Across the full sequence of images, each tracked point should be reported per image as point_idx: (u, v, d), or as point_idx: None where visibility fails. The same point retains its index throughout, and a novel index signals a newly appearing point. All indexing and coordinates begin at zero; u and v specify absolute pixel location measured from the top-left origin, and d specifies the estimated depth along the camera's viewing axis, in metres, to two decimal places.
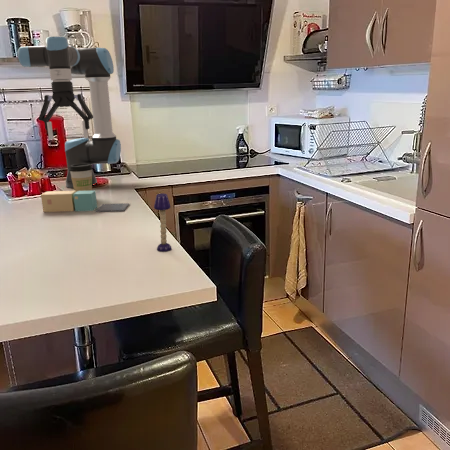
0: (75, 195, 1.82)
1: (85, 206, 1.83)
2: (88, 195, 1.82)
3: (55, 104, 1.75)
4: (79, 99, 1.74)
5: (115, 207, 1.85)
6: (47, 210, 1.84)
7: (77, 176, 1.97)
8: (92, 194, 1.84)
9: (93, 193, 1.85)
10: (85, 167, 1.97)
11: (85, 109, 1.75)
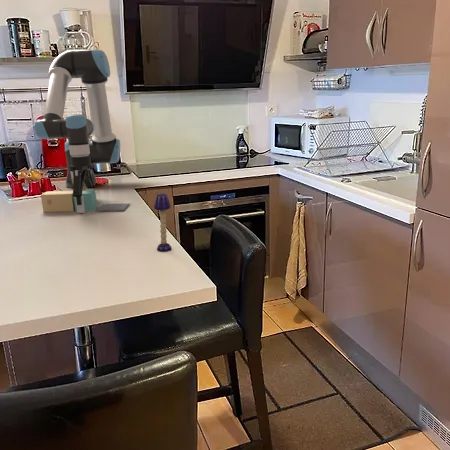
0: None
1: (85, 206, 1.83)
2: (88, 195, 1.82)
3: None
4: None
5: (115, 207, 1.85)
6: (47, 210, 1.84)
7: None
8: (92, 194, 1.84)
9: (93, 193, 1.85)
10: None
11: None
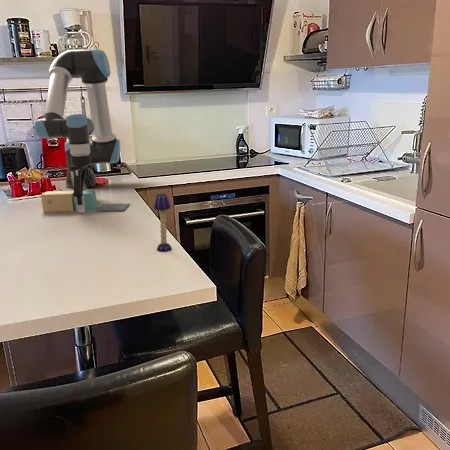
0: None
1: (85, 206, 1.83)
2: (88, 195, 1.82)
3: None
4: None
5: (115, 207, 1.85)
6: (47, 210, 1.84)
7: None
8: (92, 194, 1.84)
9: (93, 193, 1.85)
10: None
11: None
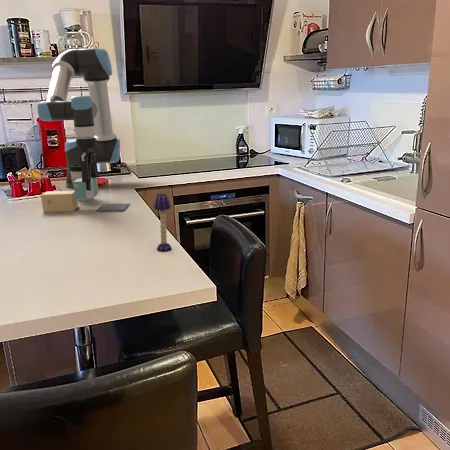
0: (75, 183, 1.81)
1: (85, 194, 1.83)
2: None
3: None
4: None
5: (115, 207, 1.85)
6: (47, 210, 1.84)
7: (77, 176, 1.97)
8: (92, 182, 1.83)
9: (93, 181, 1.84)
10: None
11: None
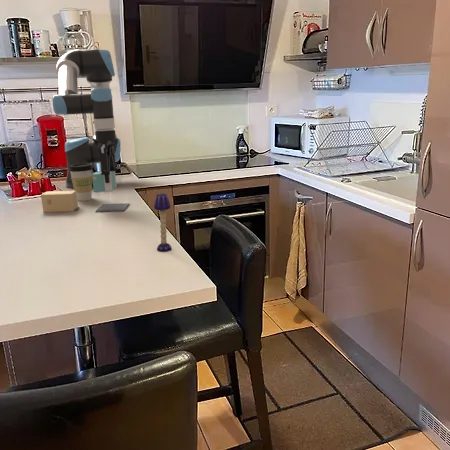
0: (93, 175, 1.80)
1: (104, 187, 1.81)
2: None
3: None
4: None
5: (115, 207, 1.85)
6: (47, 210, 1.84)
7: (77, 176, 1.97)
8: (111, 174, 1.81)
9: (111, 173, 1.83)
10: (85, 167, 1.97)
11: None
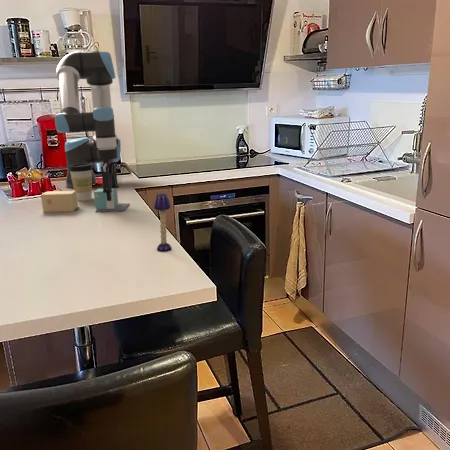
0: (95, 193, 1.82)
1: (106, 204, 1.83)
2: None
3: None
4: None
5: (115, 207, 1.85)
6: (47, 210, 1.84)
7: (77, 176, 1.97)
8: None
9: (113, 191, 1.85)
10: (85, 167, 1.97)
11: None
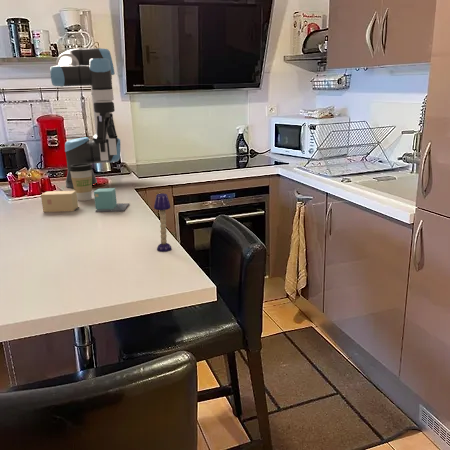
0: (95, 193, 1.82)
1: (106, 204, 1.83)
2: (109, 193, 1.82)
3: None
4: None
5: (115, 207, 1.85)
6: (47, 210, 1.84)
7: (77, 176, 1.97)
8: (112, 192, 1.83)
9: (113, 191, 1.85)
10: (85, 167, 1.97)
11: None
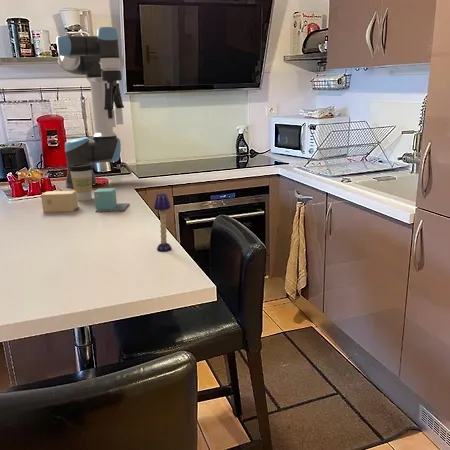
0: (95, 193, 1.82)
1: (106, 204, 1.83)
2: (109, 193, 1.82)
3: None
4: None
5: (115, 207, 1.85)
6: (47, 210, 1.84)
7: (77, 176, 1.97)
8: (112, 192, 1.83)
9: (113, 191, 1.85)
10: (85, 167, 1.97)
11: None
